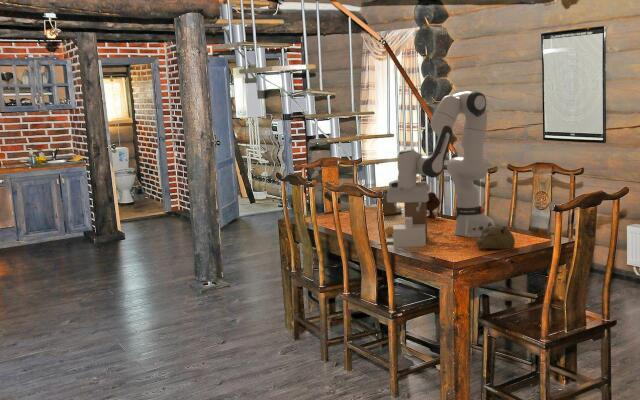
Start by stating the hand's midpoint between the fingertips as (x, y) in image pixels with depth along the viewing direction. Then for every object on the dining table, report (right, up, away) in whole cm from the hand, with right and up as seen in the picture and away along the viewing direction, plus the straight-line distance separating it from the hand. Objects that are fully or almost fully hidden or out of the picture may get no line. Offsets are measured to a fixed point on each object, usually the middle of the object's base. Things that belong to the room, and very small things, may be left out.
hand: (407, 211), depth 336 cm
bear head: (+38, -17, -14) cm, 44 cm away
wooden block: (+6, -14, +15) cm, 21 cm away
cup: (+1, -16, +3) cm, 16 cm away
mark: (-8, -15, +11) cm, 21 cm away
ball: (-6, -11, +24) cm, 27 cm away
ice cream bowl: (+22, -5, +65) cm, 69 cm away
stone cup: (0, -4, +82) cm, 82 cm away
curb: (-9, -16, +6) cm, 20 cm away
